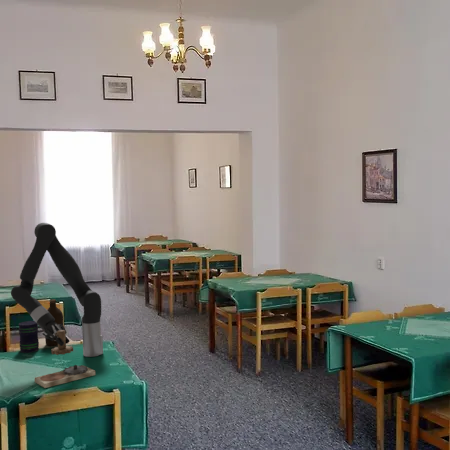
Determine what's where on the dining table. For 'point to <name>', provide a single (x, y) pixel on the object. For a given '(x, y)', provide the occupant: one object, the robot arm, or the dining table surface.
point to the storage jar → (28, 336)
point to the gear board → (64, 376)
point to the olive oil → (58, 319)
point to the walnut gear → (64, 348)
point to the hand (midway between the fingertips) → (65, 343)
